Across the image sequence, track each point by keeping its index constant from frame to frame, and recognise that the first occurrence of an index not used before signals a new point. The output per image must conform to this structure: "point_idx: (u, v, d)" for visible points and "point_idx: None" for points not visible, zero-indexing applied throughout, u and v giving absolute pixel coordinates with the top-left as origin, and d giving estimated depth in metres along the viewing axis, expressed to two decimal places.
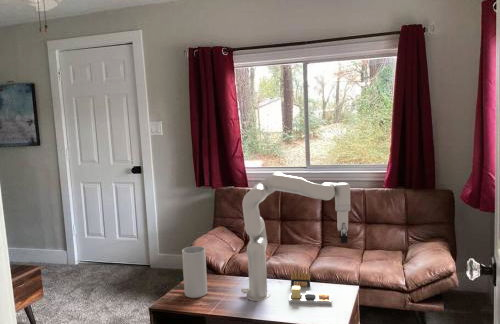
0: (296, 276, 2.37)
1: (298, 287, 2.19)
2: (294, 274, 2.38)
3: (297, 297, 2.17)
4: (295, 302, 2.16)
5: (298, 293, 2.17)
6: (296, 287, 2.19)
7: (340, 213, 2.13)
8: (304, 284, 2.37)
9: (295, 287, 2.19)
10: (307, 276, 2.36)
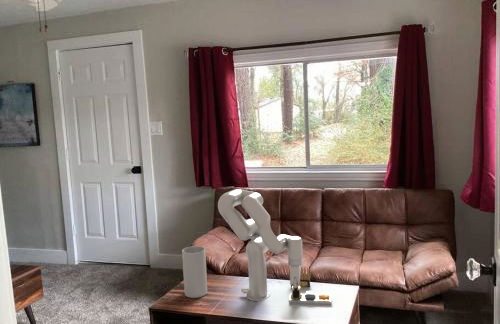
0: None
1: None
2: None
3: None
4: (295, 302, 2.16)
5: None
6: None
7: (292, 268, 2.14)
8: (304, 284, 2.37)
9: None
10: (307, 276, 2.36)
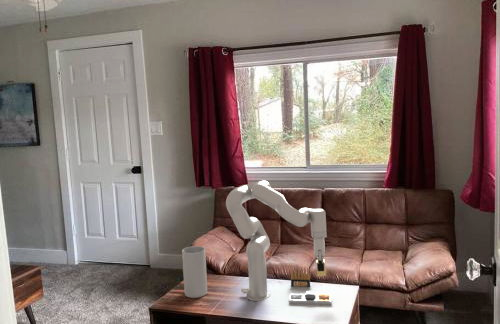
0: (296, 276, 2.37)
1: None
2: (294, 274, 2.38)
3: None
4: (295, 302, 2.16)
5: None
6: None
7: (316, 240, 2.10)
8: (304, 284, 2.37)
9: None
10: (307, 276, 2.36)
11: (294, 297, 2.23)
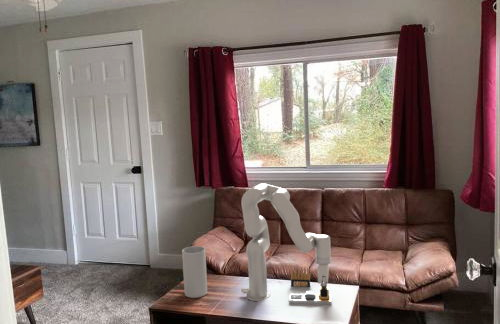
0: (296, 276, 2.37)
1: None
2: (294, 274, 2.38)
3: (325, 297, 2.15)
4: (295, 302, 2.16)
5: None
6: None
7: (320, 266, 2.11)
8: (304, 284, 2.37)
9: None
10: (307, 276, 2.36)
11: (294, 297, 2.23)
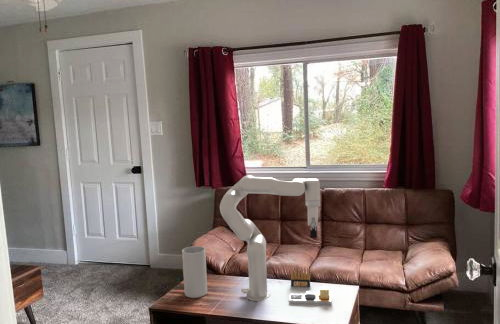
0: (296, 276, 2.37)
1: (326, 287, 2.17)
2: (294, 274, 2.38)
3: (325, 297, 2.15)
4: (295, 302, 2.16)
5: (327, 293, 2.15)
6: (325, 288, 2.17)
7: (310, 208, 2.17)
8: (304, 284, 2.37)
9: (323, 287, 2.17)
10: (307, 276, 2.36)
11: (294, 297, 2.23)
